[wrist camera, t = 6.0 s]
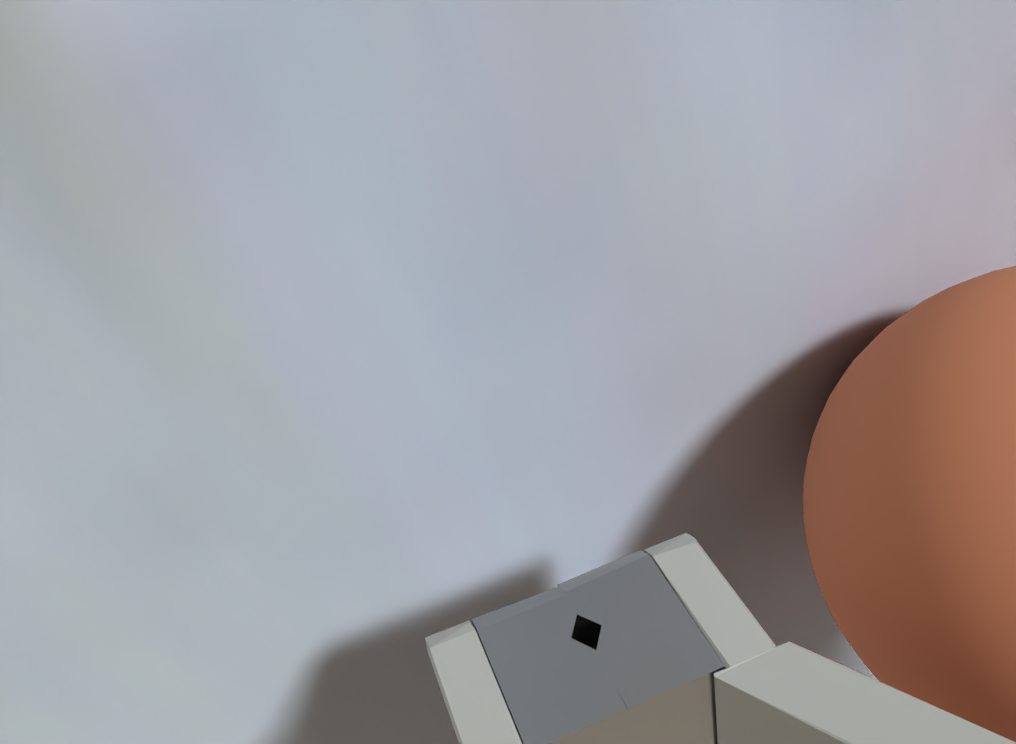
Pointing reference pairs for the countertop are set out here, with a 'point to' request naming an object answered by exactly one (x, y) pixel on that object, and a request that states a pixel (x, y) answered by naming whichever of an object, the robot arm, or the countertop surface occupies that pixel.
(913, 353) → the ball
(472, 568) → the countertop surface
